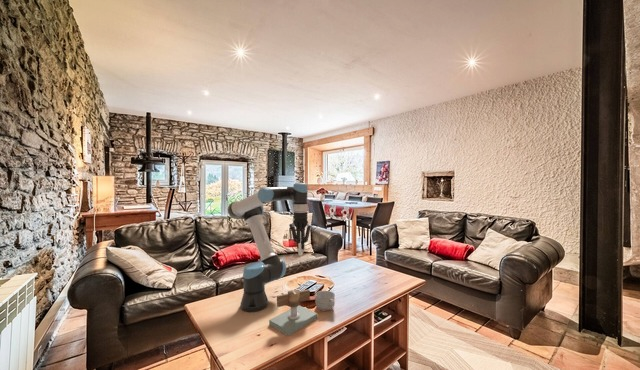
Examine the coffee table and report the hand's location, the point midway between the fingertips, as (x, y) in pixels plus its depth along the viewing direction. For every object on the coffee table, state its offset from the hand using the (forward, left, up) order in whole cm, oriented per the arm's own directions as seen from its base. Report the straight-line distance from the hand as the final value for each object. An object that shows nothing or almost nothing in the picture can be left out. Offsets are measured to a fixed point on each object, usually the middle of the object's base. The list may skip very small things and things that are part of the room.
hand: (300, 254), depth 143 cm
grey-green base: (+5, -10, -31) cm, 33 cm away
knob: (+5, -10, -22) cm, 25 cm away
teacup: (+10, +9, -31) cm, 34 cm away
